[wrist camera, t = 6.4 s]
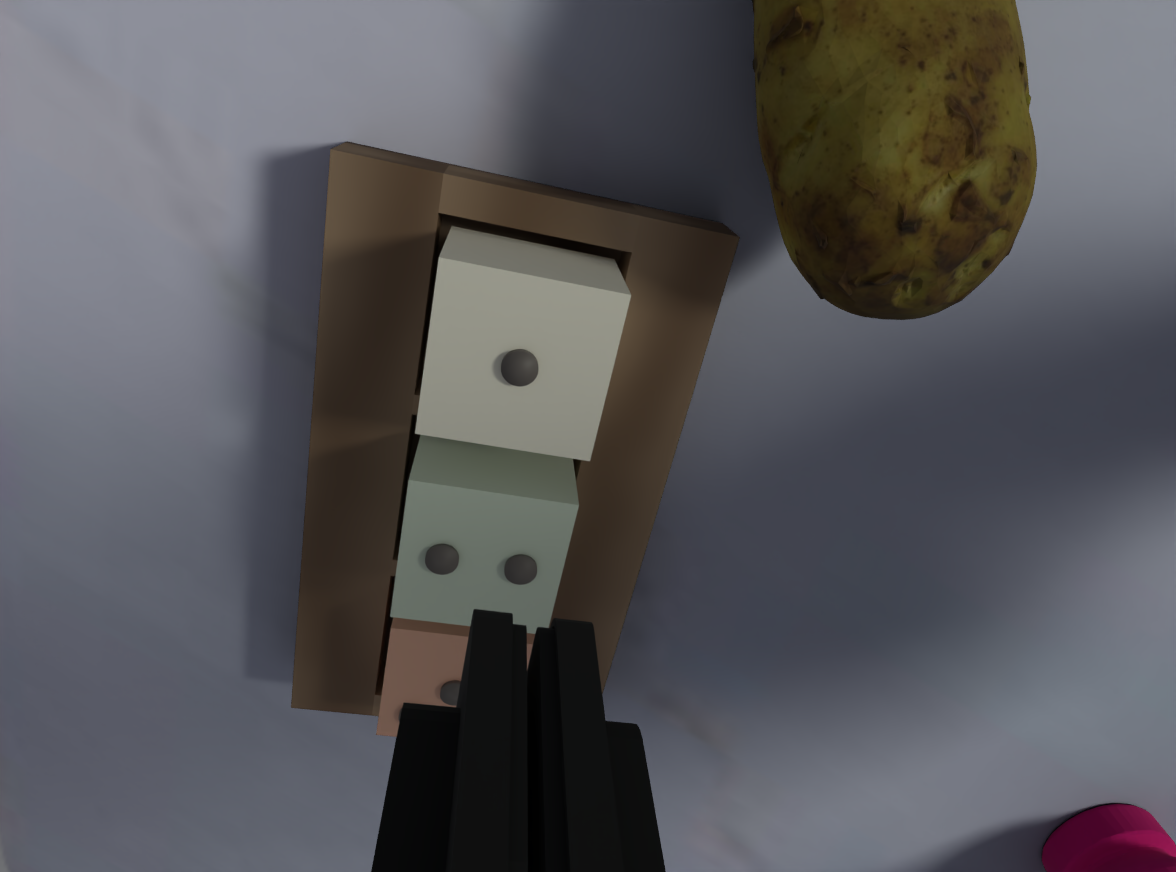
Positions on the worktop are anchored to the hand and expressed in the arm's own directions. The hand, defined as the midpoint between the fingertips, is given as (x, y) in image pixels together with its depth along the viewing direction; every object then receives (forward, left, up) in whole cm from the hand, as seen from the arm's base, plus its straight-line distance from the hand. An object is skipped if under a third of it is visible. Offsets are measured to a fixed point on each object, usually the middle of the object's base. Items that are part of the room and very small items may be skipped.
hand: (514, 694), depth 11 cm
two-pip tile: (0, +6, -15) cm, 16 cm away
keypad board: (0, +6, -17) cm, 18 cm away
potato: (-8, -10, -17) cm, 21 cm away
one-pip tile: (0, -1, -15) cm, 15 cm away
